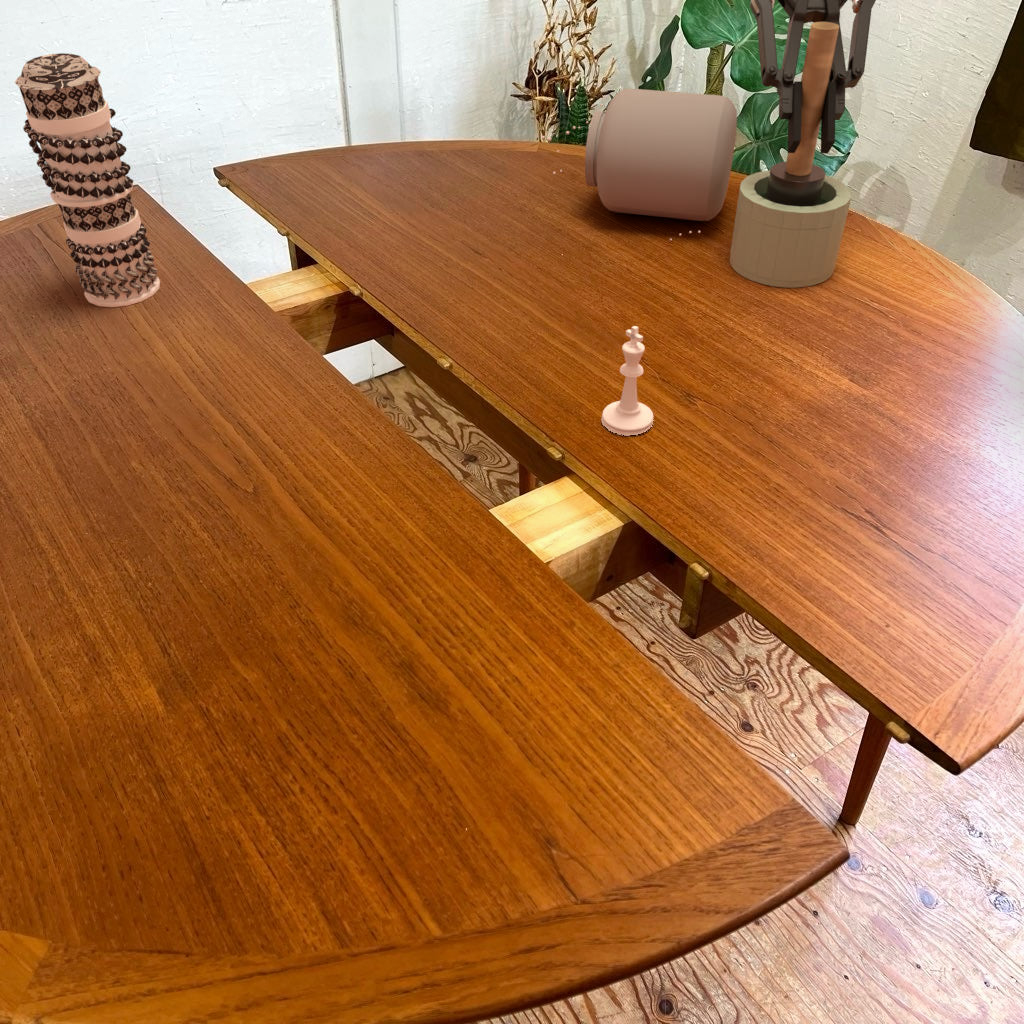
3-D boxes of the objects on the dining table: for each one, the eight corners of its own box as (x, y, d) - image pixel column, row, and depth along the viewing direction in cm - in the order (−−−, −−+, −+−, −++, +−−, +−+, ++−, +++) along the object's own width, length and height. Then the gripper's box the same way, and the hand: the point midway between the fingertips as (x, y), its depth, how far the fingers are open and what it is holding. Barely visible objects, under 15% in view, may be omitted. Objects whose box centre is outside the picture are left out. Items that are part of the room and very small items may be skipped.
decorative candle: (77, 280, 113) (1, 54, 97) (158, 265, 116) (96, 42, 100) (84, 315, 107) (3, 79, 91) (169, 298, 110) (105, 66, 93)
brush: (820, 189, 111) (855, 19, 99) (820, 210, 106) (856, 35, 94) (767, 184, 112) (795, 16, 100) (765, 205, 107) (794, 31, 96)
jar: (700, 225, 111) (506, 163, 117) (700, 274, 125) (527, 216, 131) (762, 80, 112) (567, 25, 118) (755, 145, 127) (582, 93, 132)
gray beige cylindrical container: (834, 246, 118) (850, 173, 112) (834, 292, 109) (852, 216, 103) (733, 236, 120) (743, 165, 114) (725, 281, 111) (736, 206, 105)
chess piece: (627, 399, 93) (634, 307, 86) (664, 422, 90) (675, 328, 84) (590, 419, 91) (595, 326, 84) (627, 443, 88) (635, 348, 81)
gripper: (878, -43, 106) (875, 163, 105) (734, -43, 107) (729, 161, 106) (902, -89, 99) (899, 132, 97) (746, -89, 100) (741, 130, 98)
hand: (810, 147), depth 101 cm, fingers closed on brush, 3 cm apart
